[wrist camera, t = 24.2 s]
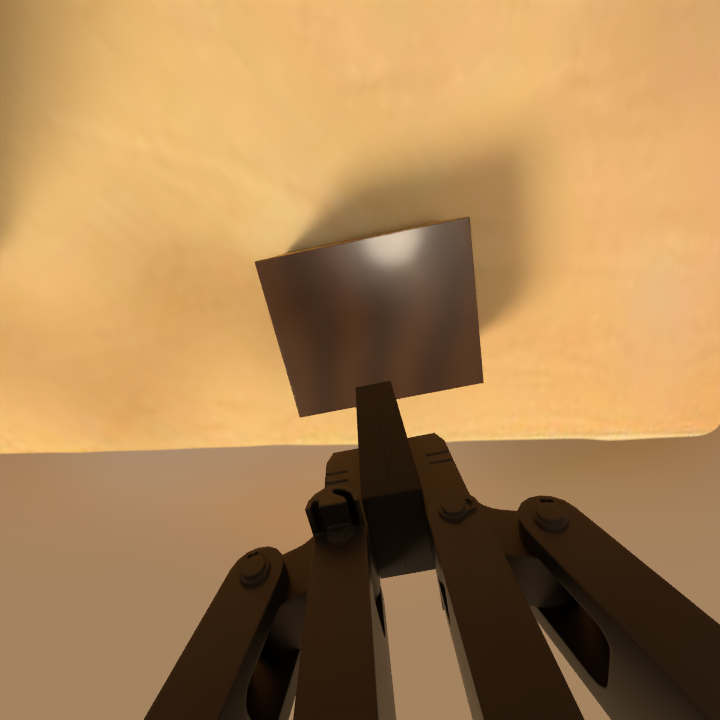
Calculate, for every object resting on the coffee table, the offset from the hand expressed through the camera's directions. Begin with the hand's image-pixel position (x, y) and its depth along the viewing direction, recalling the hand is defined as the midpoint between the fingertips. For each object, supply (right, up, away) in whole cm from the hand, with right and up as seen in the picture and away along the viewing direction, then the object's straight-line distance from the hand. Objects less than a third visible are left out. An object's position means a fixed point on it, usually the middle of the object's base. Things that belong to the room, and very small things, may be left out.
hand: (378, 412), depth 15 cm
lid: (+1, +5, +15) cm, 16 cm away
